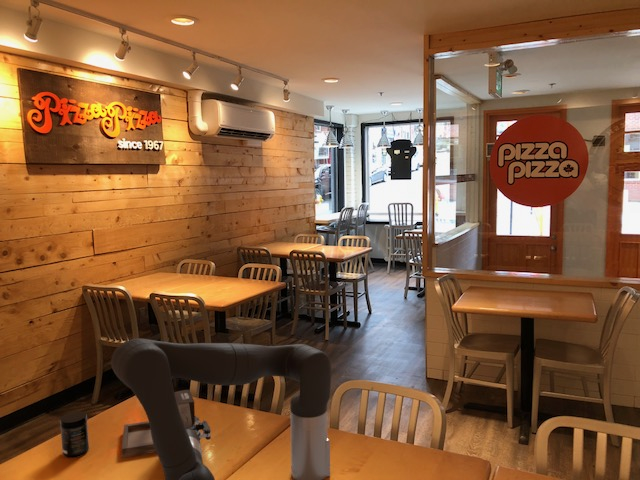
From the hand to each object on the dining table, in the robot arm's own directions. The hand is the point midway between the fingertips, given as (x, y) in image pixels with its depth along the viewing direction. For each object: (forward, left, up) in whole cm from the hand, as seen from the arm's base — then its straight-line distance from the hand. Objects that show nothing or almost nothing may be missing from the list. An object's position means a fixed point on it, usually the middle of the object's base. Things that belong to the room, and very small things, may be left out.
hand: (181, 421), depth 144 cm
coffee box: (0, +1, -9) cm, 9 cm away
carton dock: (+10, -9, -9) cm, 16 cm away
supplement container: (+28, -9, -9) cm, 31 cm away
